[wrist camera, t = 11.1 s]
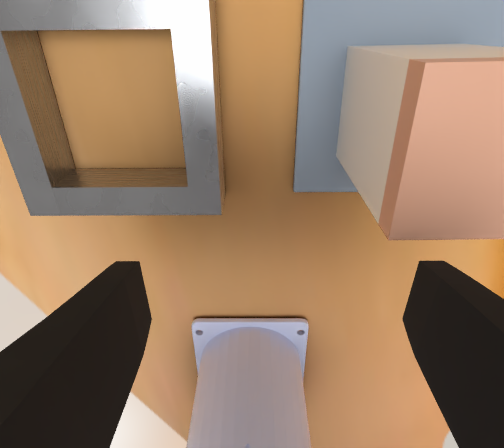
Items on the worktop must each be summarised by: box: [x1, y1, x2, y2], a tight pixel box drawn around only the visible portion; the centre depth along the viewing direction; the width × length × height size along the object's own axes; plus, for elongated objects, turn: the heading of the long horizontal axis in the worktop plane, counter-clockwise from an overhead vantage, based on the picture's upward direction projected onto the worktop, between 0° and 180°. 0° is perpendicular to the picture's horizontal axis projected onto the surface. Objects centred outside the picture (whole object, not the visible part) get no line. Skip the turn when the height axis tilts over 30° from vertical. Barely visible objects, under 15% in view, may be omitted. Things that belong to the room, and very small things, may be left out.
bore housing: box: [0, 0, 225, 216], centre depth 16 cm, size 10×10×2 cm
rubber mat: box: [293, 0, 504, 192], centre depth 17 cm, size 9×9×1 cm
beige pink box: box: [336, 44, 504, 240], centre depth 13 cm, size 5×5×8 cm
